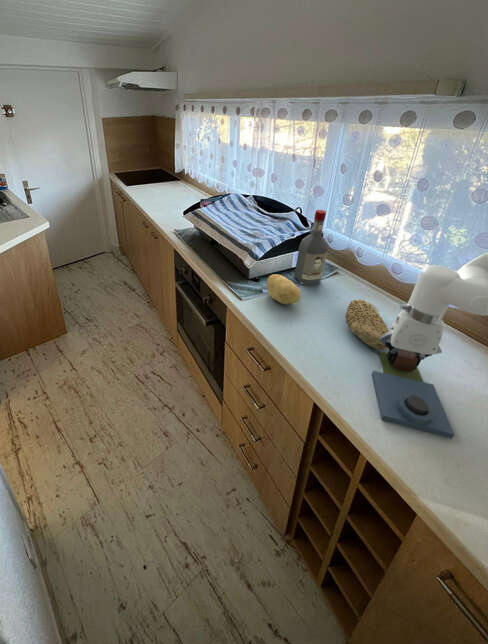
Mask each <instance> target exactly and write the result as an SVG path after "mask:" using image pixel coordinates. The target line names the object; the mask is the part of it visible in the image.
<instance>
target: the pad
mask: <svg viewBox="0 0 488 644" xmlns="http://www.w3.org/2000/svg"><path fill="white" fill-rule="evenodd" d="M387 353H388V352H385V351H381V350H379V351H378V354H379V358H380V363H381V367H382V370H383V373H386V374H390V375H394V376H399V377H403V378H408V379H412V380H416V381H421V382H424V380H423V378H422V375H421V373H420V369H419V368H418V366H417V367H416V369H415V370H413V372H409V371H405V370H400V369H396V368H393V365H390V363H389V360H388V359H387Z"/></svg>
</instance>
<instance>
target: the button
mask: <svg viewBox="0 0 488 644" xmlns="http://www.w3.org/2000/svg"><path fill="white" fill-rule="evenodd" d="M406 406H407V408H408V409H409V410H410V411H412V412H413V413H415V414H417V415H425V414H426V412H427V410H428V404H427V403H426V402H425V401H424V400H423V399H422V398H420V397H418V396H409V397H408V399H407V401H406Z"/></svg>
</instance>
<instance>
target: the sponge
mask: <svg viewBox="0 0 488 644" xmlns="http://www.w3.org/2000/svg"><path fill="white" fill-rule="evenodd" d="M379 311H380V310H379V309H378V307H376V306H375V305H374V304H373V303H371V302H368V301H365V300H364V299H360V298H358V299H353V300H350V302H349V304H348V305H347V308H346V313H345V321H346V324H347V327H348V328H349V329H350V331H351V332H352V333H353V334H354V335H356V336H357V337H358V338H359V339H360V340H361V341H362V342H364V343H365V344H366V345H367V346H369V347H371V348H373V349H375V350H387V349H388V348H387V347H386V345H385V344H384V343H382V342H381V341H380V338H379V336H381V335H383V334H385V333H387V332H389V331H390V329H389V328H388V326H387V324H386V323H385V321H384V318H382V316H381V314H380V313H379ZM388 340H389V341H390V342H391V338H390V339H388Z"/></svg>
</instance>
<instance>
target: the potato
mask: <svg viewBox="0 0 488 644" xmlns="http://www.w3.org/2000/svg"><path fill="white" fill-rule="evenodd" d="M266 290H267V292H268V295H269V297H271V298H272V299H273V300H275V301H276V302H278V303H279V304H282V305H285V306H286V305H295V304H297V303H298V302H300V300H301V297H302V293H301V290H300V289H299V287H298V286H297V285H296V284H295V283H294V282H292V281H291V280H290V279H288V278H287V277H285V276H283V275H281V274H278V273H277V274H273V273H272V274H271V275H269V276H268V277H267V281H266Z"/></svg>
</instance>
